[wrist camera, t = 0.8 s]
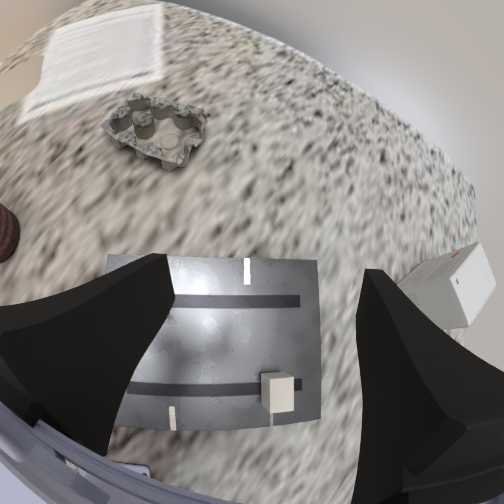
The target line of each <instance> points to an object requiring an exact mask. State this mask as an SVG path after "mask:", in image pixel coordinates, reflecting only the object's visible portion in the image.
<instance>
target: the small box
mask: <svg viewBox="0 0 504 504" xmlns="http://www.w3.org/2000/svg"><path fill="white" fill-rule="evenodd" d="M397 286H398V287H399V288H400V289H401V290H402V291H403V292H404V294H405V295H406V296H407V297H408V298H409V299H410V300H411V301H412V302H413V303H414V304H415V305H416V306H417V307H418V308H419V309H420V310H421V311H422V312H423V313H424V314H425V315H426V316H427V317H428V318H429V319H430V320H431V321H432V322H433V323H435V324H436V325H437V326H438V327H439V328H440V329H442V330H445V329H455V328H465V327H470V325H471V324H472V322H473V321H474V319H475V318H476V316H477V315H478V313H479V312H480V310H481V309H482V307H483V306H484V304H485V302H486V301H487V299H488V298H489V296H490V294H491V293H492V291H493V290H494V288H495V286H496V282H495V279H494V276H493V273H492V271H491V268H490V265H489V263H488V260H487V257H486V255H485V253H484V250H483V248H482V245H481V243H480V242H477V243H474V244H471V245H469V246H466V247H464V248H461V249H458V250H456V251H453V252H450V253H448V254H445V255H442V256H439V257H437V258H434V259H431V260H428V261H425V262H423V263H420V264H419V265H418V266H417V267H416V268H415V269H414V270H413V271H412V272H410V273H409V274H408V275H407V276H406V277H405V278H404V279H403V280H401V281H400V282H399V283H398V284H397Z"/></svg>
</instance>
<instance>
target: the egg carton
mask: <svg viewBox="0 0 504 504" xmlns="http://www.w3.org/2000/svg"><path fill="white" fill-rule="evenodd" d="M145 108H149V109H151V112H152V114H147V113H144V114H141V115H139V116H137V117H135V118H134V122H133V125H134V129H135V133H136V136H137V137H138V138H139V139H148V138H150V137H152V136H153V134H154V132H155V127H154V118H155V119H158V120H162V119H165V118H167V117H170V118H174V120H175V125H176V127H177V128H179V129H188V128H190V127H192V126H193V127H196V128H198V129H199V135H200V136H199V135H192V136H190V137H188V138H187V139H186V140H185V143H184V154H176V155H175V156H173V157H171V158H165V157H163V154H162V149H161V148H160V147H158V146H156V145H154V144H153V142H151V143H149V144H146V145H145V146H144V148H143V149H141V148H140V146H139V145H137V143H136V136H135V135H133V134H132V133H131V132H130V131H124V132H122V133H121V132H119V133H118V134H115V132H116V131H117V130H125V129H127V128H129V127H130V126H131V125H132V116H131V113H132V112H133V111H142V110H144V109H145ZM210 117H211V116H210V114H209V113H208V112H204V110H203V109H200V108H197V107H195V106H190V105H187V106H186V107H185V106H183V105H181V104H180V103H178V102H176V103H174V102H171V101H168V100H166V99H164V98H159V97H150V96H146V97H143V96H142V94H140V93H134V94H133V97H132V98H131V99H130V100H129V101H128V100H126V101H125V102H124V104H123V105H122V106H120V107H119V108H118V109H117V110H116V111H115V112H114V113H112V115H111V117H110V119H108V120H106V121H105V122H104V123H103V124H102V125H101V127H102V128H103V129H104V130H105V131H106V132H107V133H109V134H110V135H111V139H112V142H113V145H114V147H115V148H118V149H122V148H123V147H124V146H126V145H130V146H132V147H133V148H135V150H136V155H137V157H138V158H140V159H142V160H145V159H146V158H148V157H150V156H152V157H156V158H159V159H161V162H162V169H164V170H166V171H168V172H170V171H172V170H173V169H174V168H177V167H185V166H186V165H187V164H188V163H189V152H190V151H191V148H192V146H194V147H196V146H197V145H199V146H200V145H201V144H202V142H203V141H204V134H205V132H204V131H205V129H204V126H205V125H206V124H207V122H208V120H209V119H210ZM178 144H179V139H178V137H177V136H176V135H173V134H167V135H164V136H163V137H162V138H161V139H160V146H161V147H162V148H163V149H166V150H171V149H174V148H176V147H177V146H178Z"/></svg>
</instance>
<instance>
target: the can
mask: <svg viewBox="0 0 504 504" xmlns="http://www.w3.org/2000/svg"><path fill="white" fill-rule="evenodd" d="M18 237H19V226H18V222H17V218H16V217H15V215H14V214H13V213H12V212H11V211H9V210H8V209H7V208H5V207H4V206H3V205H2V204H0V262H2V261H4V260H5V259H6V258H8V257H9V256H10V255H11V253H12V252H13V251H14V249H15V247H16V245H17V241H18Z"/></svg>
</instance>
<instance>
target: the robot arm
mask: <svg viewBox="0 0 504 504" xmlns="http://www.w3.org/2000/svg"><path fill="white" fill-rule="evenodd" d="M175 299H176V297H175V293H174V288H173V283H172V279H171V274H170V269H169V264H168V259H167V254H157V253H152V254H149V255H146V256H144V257H141V258H139V259H137V260H134V261H132V262H130V263H128V264H126V265H124V266H122V267H120V268H117V269H115V270H113V271H111V272H109V273H107V274H105V275H103V276H101V277H98V278H96V279H94V280H92V281H90V282H87V283H85V284H83V285H80V286H78V287H75V288H73V289H70V290H67V291H65V292H62V293H59V294H56V295H52V296H49V297H45V298H42V299H39V300H35V301H30V302H26V303H20V304H15V305H8V306H0V504H241V503H235V502H231V501H226V500H221V499H217V498H213V497H209V496H205V495H201V494H198V493H194V492H191V491H188V490H184V489H181V488H178V487H175V486H172V485H169V484H166V483H163V482H160V481H158V480H155V479H152V478H151V476H150V470H149V468H148V467H146V466H142V465H132V464H123V463H116V462H112V461H110V460H108V459H106V458H104V456H106V455H107V450H108V446H109V441H110V437H111V433H112V429H113V426H114V423H115V420H116V417H117V413H118V410H119V407H120V405H121V402H122V400H123V397H124V394H125V392H126V389H127V387H128V385H129V383H130V380H131V378H132V376H133V374H134V371H135V369H136V367H137V366H138V364H139V362H140V360H141V359H142V357H143V356H144V354H145V352H146V351H147V349H148V348H149V346H150V344H151V343H152V341H153V340H154V338H155V337H156V335H157V333H158V332H159V330H160V329H161V327H162V325H163V324H164V322H165V321H166V319H167V317H168V315H169V313H170V310H171V308H172V306H173V303H174V301H175ZM356 343H357V351H358V359H359V367H360V376H361V385H362V398H363V411H362V431H361V443H360V453H359V461H358V468H357V475H356V481H355V486H354V491H353V496H352V501H351V504H504V372H503V371H501V370H499V369H497V368H496V367H494V366H492V365H490V364H489V363H487V362H485V361H484V360H482V359H480V358H479V357H477V356H476V355H474V354H473V353H471V352H470V351H469V350H467V349H466V348H464V347H463V346H462V345H460V344H459V343H458V342H456V341H455V340H454V339H452V338H451V337H450V336H449V335H448V334H446V333H445V332H444V331H443V330H442V329H440V328H439V327H438V326H437V325H436V324H435V323H433V322H432V321H431V320H430V319H429V318H428V317H427V316H426V315H425V314H424V313H423V312H422V311H421V310H420V309H419V308H418V307H417V306H416V305H415V304H414V303H413V302H412V301H411V300H410V299H409V298H408V297H407V296H406V295H405V294H404V292H403V291H402V290H401V289H400V288H399V287H398V286H397V285H396V284H395V283H394V282H393V280H392V279H391V278H390V277H389V276H388V275H387V274H386V273H385V272H384V271H383V270H379V269H365V272H364V278H363V283H362V288H361V293H360V298H359V303H358V308H357V313H356ZM65 459H66V460H67V461H69V462H70V463H72V464H74V465H75V466H77V467H78V470H79V473H78V472H76V471H75V470H73V469H72V468H70V467H69V466H67V465H66V461H65ZM143 473H146V474H147V475H144V474H143Z"/></svg>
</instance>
